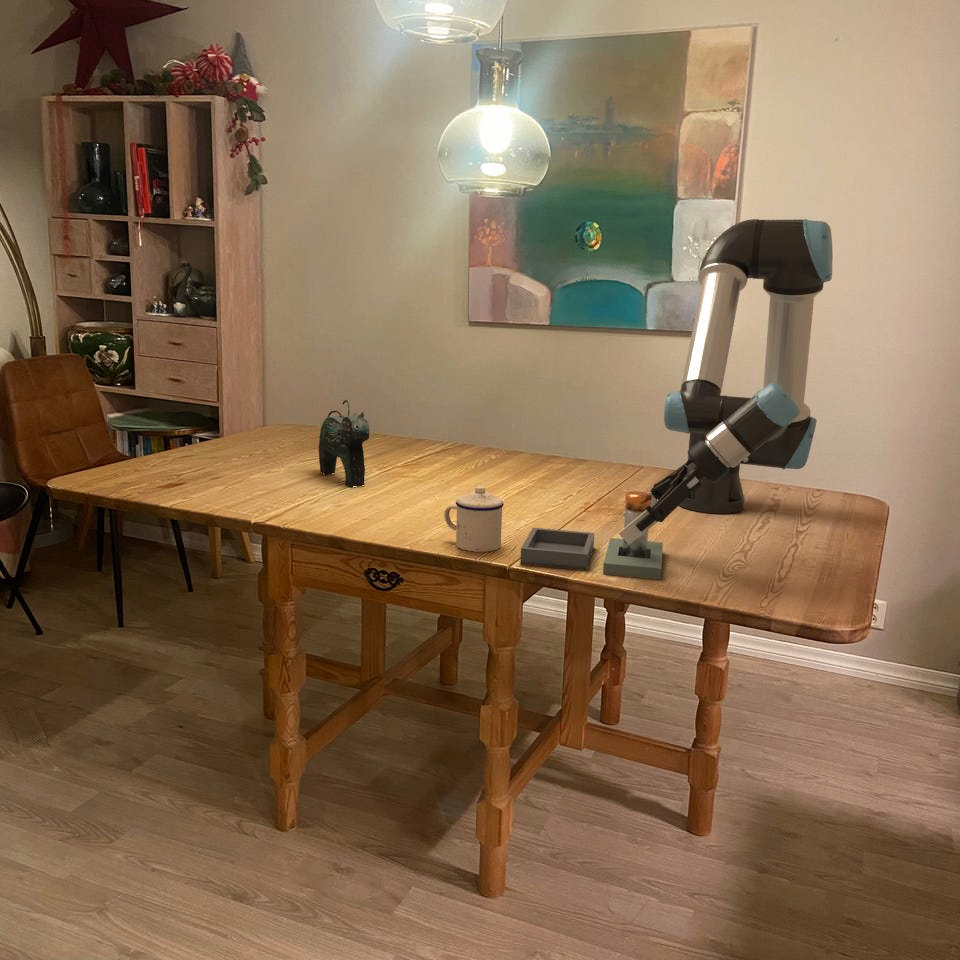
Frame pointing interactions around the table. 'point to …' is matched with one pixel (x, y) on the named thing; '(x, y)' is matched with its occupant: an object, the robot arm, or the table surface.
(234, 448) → the table surface
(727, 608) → the table surface
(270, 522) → the table surface
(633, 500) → the pepper shaker
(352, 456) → the ceramic cat
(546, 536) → the tray
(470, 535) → the teacup with lid
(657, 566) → the green holder base
